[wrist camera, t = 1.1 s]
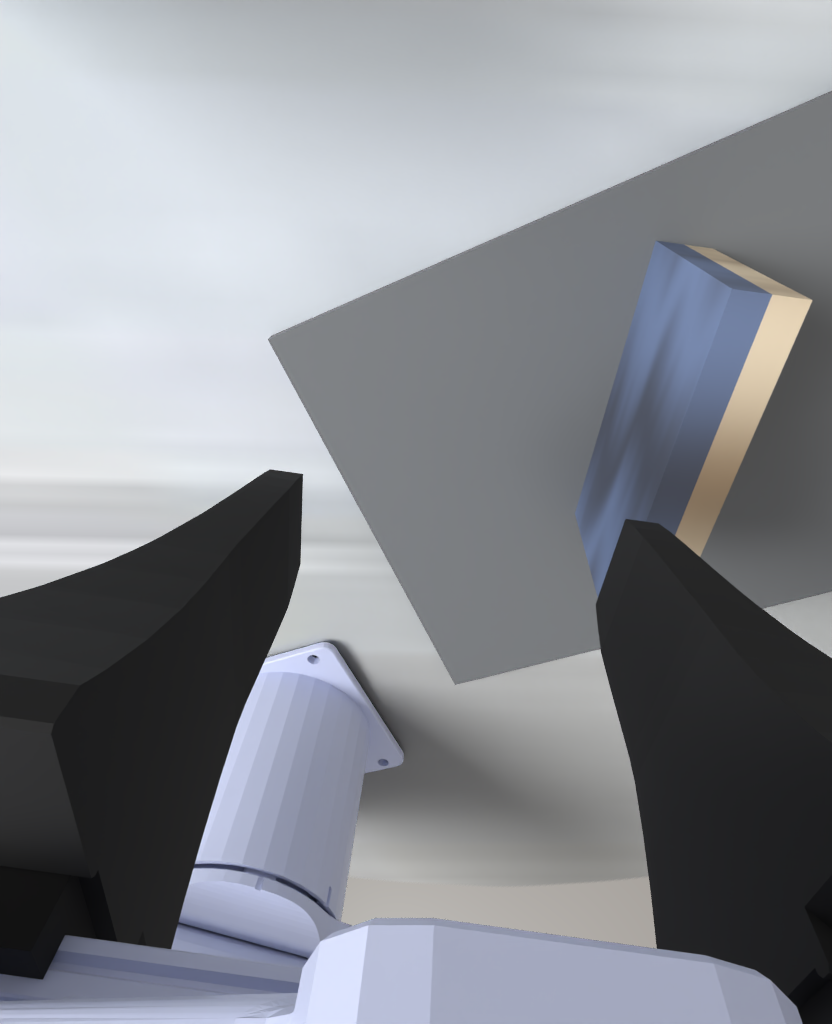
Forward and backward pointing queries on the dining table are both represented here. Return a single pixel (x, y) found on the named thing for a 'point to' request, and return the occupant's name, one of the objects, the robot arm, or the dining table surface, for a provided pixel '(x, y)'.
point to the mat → (572, 397)
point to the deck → (685, 397)
